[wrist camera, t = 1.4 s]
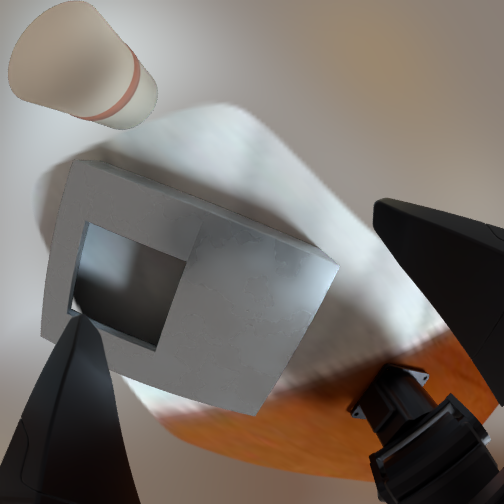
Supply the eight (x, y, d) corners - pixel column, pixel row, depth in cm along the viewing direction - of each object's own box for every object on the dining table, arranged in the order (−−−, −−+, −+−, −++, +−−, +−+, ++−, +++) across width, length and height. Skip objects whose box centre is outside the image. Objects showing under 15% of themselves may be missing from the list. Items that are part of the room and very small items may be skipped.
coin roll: (169, 77, 17) (124, 4, 7) (141, 138, 18) (66, 113, 8) (113, 62, 16) (41, -2, 6) (86, 120, 17) (-8, 94, 7)
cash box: (319, 248, 20) (340, 266, 17) (250, 382, 23) (255, 416, 19) (100, 160, 18) (73, 159, 14) (64, 311, 20) (40, 336, 16)
